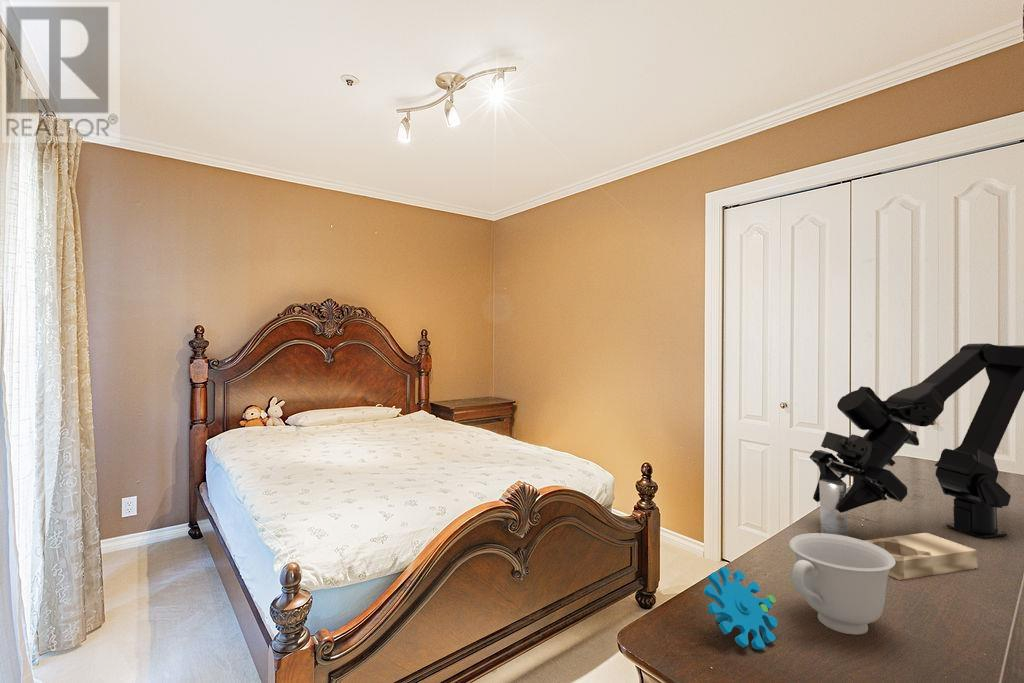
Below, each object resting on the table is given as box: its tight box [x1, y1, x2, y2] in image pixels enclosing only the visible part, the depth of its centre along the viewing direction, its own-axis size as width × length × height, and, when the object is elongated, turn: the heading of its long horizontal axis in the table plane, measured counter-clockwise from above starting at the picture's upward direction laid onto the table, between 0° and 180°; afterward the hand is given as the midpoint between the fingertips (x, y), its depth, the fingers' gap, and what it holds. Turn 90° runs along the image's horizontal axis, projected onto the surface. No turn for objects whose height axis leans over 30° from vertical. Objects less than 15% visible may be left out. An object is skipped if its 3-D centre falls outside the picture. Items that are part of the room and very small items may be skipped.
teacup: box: [788, 532, 896, 636], centre depth 66 cm, size 12×15×10 cm
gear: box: [703, 566, 778, 651], centre depth 65 cm, size 11×6×10 cm
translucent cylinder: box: [818, 479, 849, 537], centre depth 94 cm, size 4×4×11 cm
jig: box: [863, 532, 979, 581], centre depth 83 cm, size 16×8×3 cm, turn 101°
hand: (826, 505), depth 94 cm, fingers open, 6 cm apart
